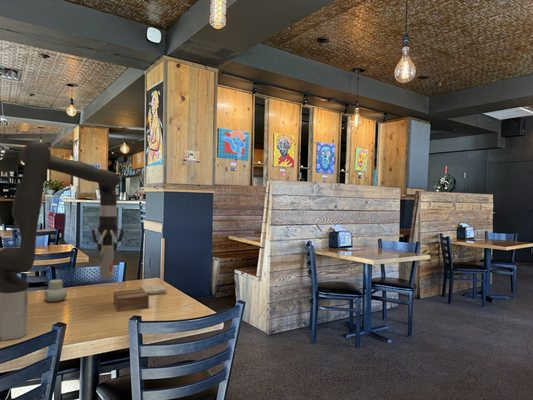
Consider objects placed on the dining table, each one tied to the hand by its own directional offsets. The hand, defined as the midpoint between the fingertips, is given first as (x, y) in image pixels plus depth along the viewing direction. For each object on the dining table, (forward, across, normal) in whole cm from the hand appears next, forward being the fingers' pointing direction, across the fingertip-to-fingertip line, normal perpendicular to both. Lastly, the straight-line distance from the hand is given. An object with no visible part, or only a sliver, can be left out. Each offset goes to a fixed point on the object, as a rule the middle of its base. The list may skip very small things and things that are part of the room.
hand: (107, 251), depth 172 cm
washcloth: (+29, +28, +26) cm, 48 cm away
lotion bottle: (+13, 0, 0) cm, 13 cm away
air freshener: (+28, -20, +27) cm, 44 cm away
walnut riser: (+28, +12, +3) cm, 30 cm away
